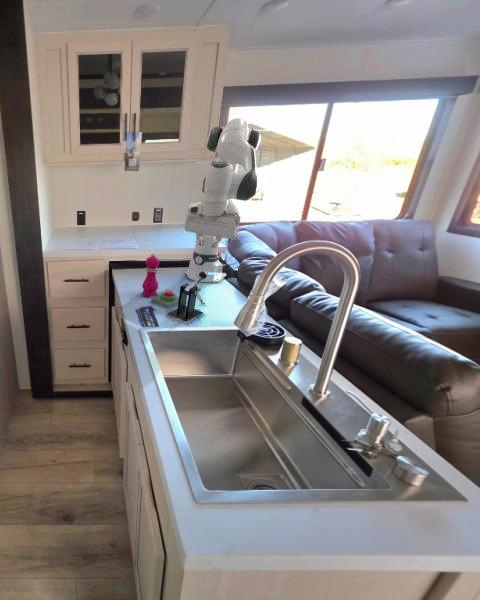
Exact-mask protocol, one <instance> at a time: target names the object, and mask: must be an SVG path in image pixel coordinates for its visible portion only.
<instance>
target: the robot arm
mask: <svg viewBox="0 0 480 600" xmlns="http://www.w3.org/2000/svg"><path fill="white" fill-rule="evenodd" d="M260 143H261V132H260V130H259V129H256V128H249V124H248V122H247V121H246V120H245V119H243V118H240V117H237V118H236V117H235V118H232V119H231V120H229V121H228V122H227V123H226V124H225V125H224V126H222V125H219V126H214V127H213V128H212V129H210V132H209V133H208V135H207V138H206V148H207V150H208V151H210V152H213V153H215V152H216V154H217V157H216V159H215V161H213V162H211V163H210V164H209V166H208V169H207V172H206V175H205V177H204V178H203V180H202V181H203V183H202V189H201V192H202V193H203V197H202V200H201V201H194V202H191V203H190V204H189V205H188V206H187V208H186V209H185V221H184V226H183V227H184V230H185V232H189V233H194V235H195V245H194V251H193V253H192V259H190V261H189V265H188V270H187V271H185V275H186V276H187V278H188V279H190V280H191V281H194V282H195V281H196V280H197V278H198V277H199V273H200V272H202V271H203V272H206V273H207V277H206V278H205V279H201V280H200V282H199V283H215V284H216V283H220V282H221V281H222V280H224V279H225V277H227V273H226V272H225V271H226V270H227V264H224V263H221V261H220V260H219V257H221V256H222V252H219V251H218V250H219V246H220V245H219V244H220V242H221V240H222V239H229V240H233V239H235V238H237V237H238V235H239V228H240V223H241V209H240V207H239V206H238V205H237V204H236V202H235V201H234V200H238V201H249V200H250V199H251V198H253V197H255V196H256V193H257V192H258V188H259V177H258V172H257V160H256V150H257V149H258V147H259V146H260ZM238 166H241V167H243V171H238Z"/></svg>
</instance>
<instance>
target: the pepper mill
mask: <svg viewBox="0 0 480 600" xmlns="http://www.w3.org/2000/svg"><path fill="white" fill-rule="evenodd" d="M159 265H160V260H159V258H158V257H156V253H151V254H150V256H149V257H147V258H146V259H145V266H146V267H145V268H146V269H145V270H146V276H145V279H144V280H143V282H142V287H141V288H142V289H143V290H142V296H143V297H145V298H151V297H154V296H157V291H158V289H159V283H158V280H157V272H158V267H159Z"/></svg>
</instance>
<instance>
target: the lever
mask: <svg viewBox="0 0 480 600" xmlns="http://www.w3.org/2000/svg"><path fill="white" fill-rule="evenodd" d="M206 277H207V273H206V272H203V271H202V272H200V273H199V277H198V278H197V280H196V281H194V282H192V284H190V285H191V286H190V285H189V286H187V287H186V288H185V289H184V294H186V295H187V296H189V289H190V288H193V287H195V286H196V285H197V286H198V284H199V283H201V282H200V280H201V279H205V278H206Z"/></svg>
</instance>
